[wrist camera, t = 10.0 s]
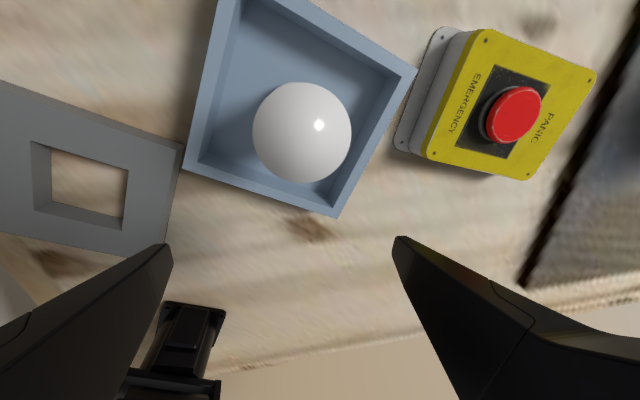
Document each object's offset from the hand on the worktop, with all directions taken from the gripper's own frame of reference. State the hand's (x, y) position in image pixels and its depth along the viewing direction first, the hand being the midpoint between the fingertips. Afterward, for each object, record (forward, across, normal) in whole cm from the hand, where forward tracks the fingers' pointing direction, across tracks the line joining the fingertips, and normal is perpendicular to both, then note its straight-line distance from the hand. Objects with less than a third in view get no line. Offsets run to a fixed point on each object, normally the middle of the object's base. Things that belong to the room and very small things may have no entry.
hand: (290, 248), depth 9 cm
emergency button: (+12, -17, -5) cm, 22 cm away
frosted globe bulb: (+11, -1, -4) cm, 12 cm away
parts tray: (+12, -1, -4) cm, 12 cm away
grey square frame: (+12, +15, +2) cm, 19 cm away
